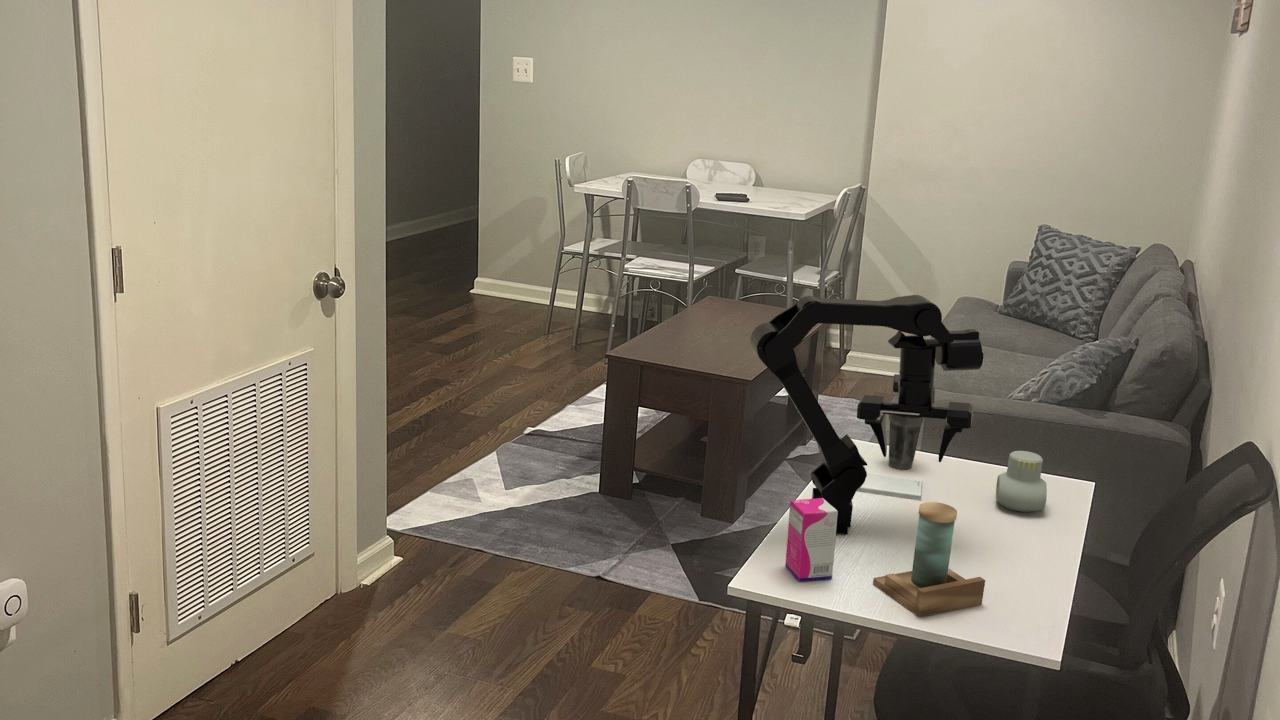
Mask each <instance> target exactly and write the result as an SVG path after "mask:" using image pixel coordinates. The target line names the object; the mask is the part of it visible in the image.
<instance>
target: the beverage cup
mask: <svg viewBox="0 0 1280 720" xmlns="http://www.w3.org/2000/svg"><path fill="white" fill-rule="evenodd" d="M890 403H895V404H898V394H896V395H894V397H893V398H892V400H891V402H890ZM924 419H925V417H915V416H903V415H892V414H888V420H889V434H888V435H889V436H888V437H889V438H888V440H889V443H888V466H889V467H890V468H891V469H894V470H899V471H910V470H911V469H912V467H913V464H914V459H915V455H916V451H917V445H918V442H919V437H920V432H921V428H922V425H923V423H924Z"/></svg>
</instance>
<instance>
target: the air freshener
mask: <svg viewBox="0 0 1280 720" xmlns="http://www.w3.org/2000/svg"><path fill="white" fill-rule="evenodd" d="M1043 461H1044V460H1043V458H1042V456H1041V455H1040V454H1038V453H1035V452H1032V451H1027V450H1026V451H1025V450H1014V451H1012V452H1010V453H1009V455H1008V463H1007V468H1006V472H1002V473H1000V474H998V476H997V480H996V487H995V501H996V502H997V503H999V504H1000V505H1001V506H1003V507H1005V508H1007V509H1008V510H1013V511H1015V512H1016V511H1017V512H1022V513H1032V512H1036V511H1039V510H1042V509H1043V508H1045V506H1046V504H1047V494H1048V493H1047V492H1048V488H1047V482H1046V481H1045V480H1044V479H1043V478H1041V475H1042V468H1043V464H1044V463H1043Z"/></svg>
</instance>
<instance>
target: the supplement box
mask: <svg viewBox="0 0 1280 720" xmlns="http://www.w3.org/2000/svg"><path fill="white" fill-rule="evenodd" d="M789 502H790V503H789V515H788V527H787V528H788V529H787V539H786V554H785V567H786V568H787V569H788V571H789V572H790V574H792V575H793V576H794V578H795V579H796V580H797V581H798V582H801V583H802V582H810V581H811V582H812V581H813V582H814V581H823V580H833V572H834V571H833V570H834V562H835V560H834V559H835V549H836V548H835V547H836V536H837V534H836V526H837V515H838V511H837V510H836V509H835V508H834V507H832V506H831V505H830V504H829V503H828V502H827V501H826V500H824V499H823V498H816V499H812V498H809V499H808V498H806V499H792V500H790V501H789Z"/></svg>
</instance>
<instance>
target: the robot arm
mask: <svg viewBox="0 0 1280 720" xmlns="http://www.w3.org/2000/svg"><path fill="white" fill-rule="evenodd" d="M942 321H943V315H942V312H941V309H940V308H939V307H938V306H937V305H936V304H935V303H934V302H932V301H931V300H929V299H927V298H926V297H924V296H923V295H919V294H912V295H903V296H897V297H893V298H889V299H885V300H869V299H868V300H866V299H849V298H848V299H847V298H829V297H814V296H812V295H806V296H803V297H801V298H800V299H799V300H797V301H796V303H794V304H793V305H791V306H789V307H788V308H786V309H785V310H783V311H781V312H780V313H778V314H777V315H776V316H774V317H773V318H772V319H771V320H769V321H768V322H764V323H761V324H759V325H757V326H756V327H755V328H754V329H753V331H752V332H751V335H750V339H749V341H750V342H749V343H750V345H751V348H752V349H753V351H754V352H755V354H756V356H757V357H758V358H759V360H760V361H761V362H762V364H764V365H765V366H766V369H768V370H769V372H771V373H772V374H773V376H775V378H777V380H778V381H779V382H780V383H781V385H782V386H783V388H784V390H785V391H786V393H787V396H788V397H789V398H790V401H792V404H793V405H794V407H795V409H796V410H797V412H798V413H799V415H800V417H801V418H802V420H803V422H804V423H805V425H806V426H807V428H808V430H809V432H810V434H811V435H812V437H813V439H814V440H815V442H816V444H817V449H818V452H819V455H820V458H821V461H822V463H821V464H820V465H818V466H817V467H816V468H814V470H813V471H811V472H810V478H811V481H812V484H813V485H814V486H815V487H812V493H811V499H816V498H823V499H824V500H826V501H827V502H828V503H829V504H830V505H831V506H832V507H834V508H835V509H836V510H837V511H838V515H837V526H836V535H838V534H839V535H849V528H850V527H851V525H852V519H853V518H852V517H853V516H852V515H853V508H854V506H853V499H854V496H855V495H856V492H858V491H857V489H858V488H860V487H861V486H862V485H863V483H864V482H865V479H866V477H867V474H868V473H867V470H866V468H865V466H866V467H867V466H868V463H867V462H866V461H865V458H863V456H862V455H861V453H860V452H859V448H858V447H857V445H856V443H855V442H854V441H853V440H852V439H851V437H850V436H849V434H848V433H847V434H844V435H843V436H842V437H840V436H839V435H838V433H837V432H836V430H835V429H834V427H833V425H832V423H831V421H830V420H829V418H828V417H827V415H826V413H825V412H824V410H823V408H822V407H821V405H820V403H819V401H818V400H817V398H816V396H815V394H814V392H813V391H812V389H811V387H810V386H809V384H808V383H807V381H806V379H805V377H804V376H803V374H802V373H801V369H800V366H799V362H798V359H797V355H796V352H795V350H794V349H795V348H796V347H797V346H798V345H799V344H801V342H802V341H803V340H804V339H805V338H806V336H807V335H808V334H809V332H810V331H811V330H812V329H813V328H814V327H815V326H817V325H818V324H826V325H828V324H829V325H843V326H844V325H845V326H846V325H848V326H866V327H867V326H869V327H871V326H872V327H885V328H890V329H892V330H896V331H897V333H896V334H895V335H893V336H892V337H890V338H889V339H888V341H887V342H888V344H889V345H891V346H892V347H893V348H894V349H900V351H899V353H900V354H899V371H898V372H899V373H898V374H897V373H895V374H894V375H893V382H892V383H893V384H892V392H893V393H897V395H898V404H895V403H891V402H885V396H883V395H882V396H881V395H869V394H868V395H867V394H864V395H863V396H862V397H860V400H859V402H858V403H857V407H856V418H857V419H859V420H863V421H864V424H865V425H869V426H870V427H871V429H872V431H873V434H874V435H875V438H876V440H877V442H878V445H879V448H880V450H881V453H882V456H883V458H886V457H887V452H888V451H887V450H888V441H887V439H888V438H887V430H886V429H887V427H886V416H887V415H889V414H892V415H903V416H915V417H924V418H927V419H928V418H929V419H939V420H945V424H944V429H943V434H942V438H941V444H940V448H939V451H938V452H939V453H938V463H942V461H943V459H944V457H945V456H944V455H945V453H946V451H947V449H948V447H949V445H950V443H951V441H952V440H953V438H954V436H955V435H956V433H963V431H964V429H972V422H973V413H974V412H973V411H974V407H973V406H972V404H971V402H970V403H969V402H958V401H957V402H956V401H949V402H948V405H947V407H941V406H933V405H934V403H935V397H936V388H935V368H936V367H935V366H936V364H937V366H940V367H941V368H942V370H943V371H944V372H945V371H946V372H950V371H951V372H953V371H975V370H976V371H977V370H978V371H979V370H980V369H981V368H982V366H983V363H984V352H983V348H982V343H981V340H980V331H978V330H977V329H975V328H966V329H964V330H949V329H948V328H947V327H946V326H945V325H944V322H942ZM904 333H906V334H909V335H905V334H904ZM925 337H932V338H931V339H927V338H925Z"/></svg>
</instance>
